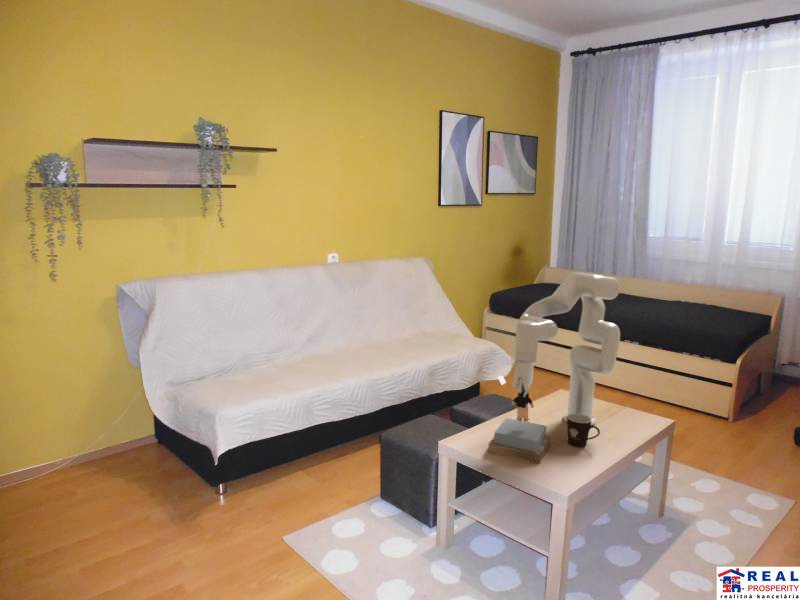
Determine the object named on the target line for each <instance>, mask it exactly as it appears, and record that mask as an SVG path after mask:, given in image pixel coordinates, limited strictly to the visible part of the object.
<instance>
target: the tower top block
mask: <svg viewBox="0 0 800 600" xmlns="http://www.w3.org/2000/svg"><path fill="white" fill-rule="evenodd" d="M546 432H547V425H544V424H539V423H535V422H534V423H533V422H530V421H528V422H525V421H524V420H522V421H518V420H517V419H515V418H509V417H505V419H504V420H503V421H502V422H501V423H500V425H499V426H498V428H497V429H496V430H495V431H494V436H493V437H494V443H496V444H501V445H505V446H510V447H514V448H519V449H523V450H528V451H532V452H537V450H538V449H539V447H540V445H541V443H542V441H543V440H544V438H545V436H546V434H547V433H546Z"/></svg>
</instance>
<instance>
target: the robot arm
mask: <svg viewBox="0 0 800 600" xmlns="http://www.w3.org/2000/svg"><path fill="white" fill-rule="evenodd" d="M620 291H621V285H620V281H619V280H618V279H617V278H615V277H609V276H603V275H599V274H594V273H593V274H592V273H584V272H575V271H574V272H572V273H570V274H568V275H567V276H566V277H565V279H564V280H563V281H562V282H561V284H559V286H558V287H557V288H556V290H554V292H553V293H552V295H550V296H549V295H548V296H547V297H544V298H542V299H540V300H537V301H536V302H534V303H532V304H530V306H529V307H527V308H526V309H525V311H524V312H523V313H522V315H521V316H520V317H519V319H518V321H517V323H516V331H515V346H514V360H515V365H514V372H513V374H514V375H513V381H512V388H513V389H515V388H517V390H516V393H517V394H516V397H517V402H516V407H517V408H518V407H522V408H525V407H526V397H525V396H527V397H529V398H530V386H531V385H532V383H533V379H534V364H535V363H536V362H537V359H538V358H537V357H538V343H539V341H540V342H542V341H543V342H545V341H551V340H552V339H553V338H555V337H556V336H557V334H558V331H559V330H558V325H557V324H556V322H555V321H553V320H552V319H547V318H544V317H547V316H552V315H560V314H564V313H568V312H570V310H572V308H573V307H574V306H575V305H576V303H577V302H578V301H579V299H581V303H582V311H581V317H580V321H579V326H578V334H577V335H578V338H579V339H580V340H581V341H582V342H583V341H584V342H586V343H589V344H593V345H594V344H595V345H599V346H601V348H599V347H595V346H591V345H587V344H575V345H574V346H573V347H571V349H570V351H569V365H570V377H569V378H570V379H569V381H570V382H569V392H568V395H569V396H568V402H567V403H568V404H567V412H566V413H563V416H562V418H563V420H564V421H565V422H566V423H567V416H568V415H569V414H582V415H586V416H588V417H590V418H591V420H592V421H591V425H590V426H594V424H596V417H594V416H593V410H594V409H593V407H594V396H595V386H596V379H595V376H594V375H595V374H594V373H597V374H599V375H600V374H601V375H603V376H604V375H610V374H611V373H612V372H613V371H614V369H615V365H616V361H617V355H618V353H619V352H618V351H619V346H620V341H621V331H620V328H619V326H618V325H617V324H616V323H614V322H610V321H605V313H606V305H605V302H604V301H603V300H614V299H616V298H617V297H618V295H619V293H620ZM522 387H524V388H522ZM527 388H528V393H527V395H526V389H527ZM522 390H524V392H523V391H522ZM527 404H528V405H529V402H527Z"/></svg>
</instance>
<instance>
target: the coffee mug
mask: <svg viewBox="0 0 800 600" xmlns="http://www.w3.org/2000/svg"><path fill="white" fill-rule="evenodd" d="M591 421H592V420H591V418H590V417H588V416H586V415H582V414H569V415H568V416H567V422H566V423H567V443H568V445H570V446H572V447H574V448H585V447H586V446H587V444H588V443H587V442H588V441H590V440H592V439H595V438H597V437H599V435H600V434H601V431H600V429H599V427H597V426H596V425H591ZM590 425H591V426H590ZM593 428H594V429H595V430H597V434H596V435H595V436H594V435H593V436H592V437H591V436H590V437H589V433H590V430H591V429H593Z"/></svg>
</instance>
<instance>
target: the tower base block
mask: <svg viewBox="0 0 800 600" xmlns="http://www.w3.org/2000/svg"><path fill="white" fill-rule="evenodd" d="M550 444H551V434H547V433H546V436H545V438H544V440H543V441H542V443H541V445H540V447H539V449H538V450H537V452H532V451H528V450H523V449H519V448H514V447H510V446H505V445H501V444H496V443H494V436H493V438H491V440H490V442H488V447H487V449H488V451H487V453H488V452H489V453H488V454H492V453H493V454H492V455H497V456H501V455H503V456H502V457H507V458H511V459H514V458H516V459H515V460H519V461H523V460H524V461H523V462H527V461H529V462H528V463H532V464H535V465H537V464H538V465H540V464H541V461H542V459H543V457H544V456H545V454H546V452H547V451H548V448H549V446H550Z"/></svg>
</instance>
